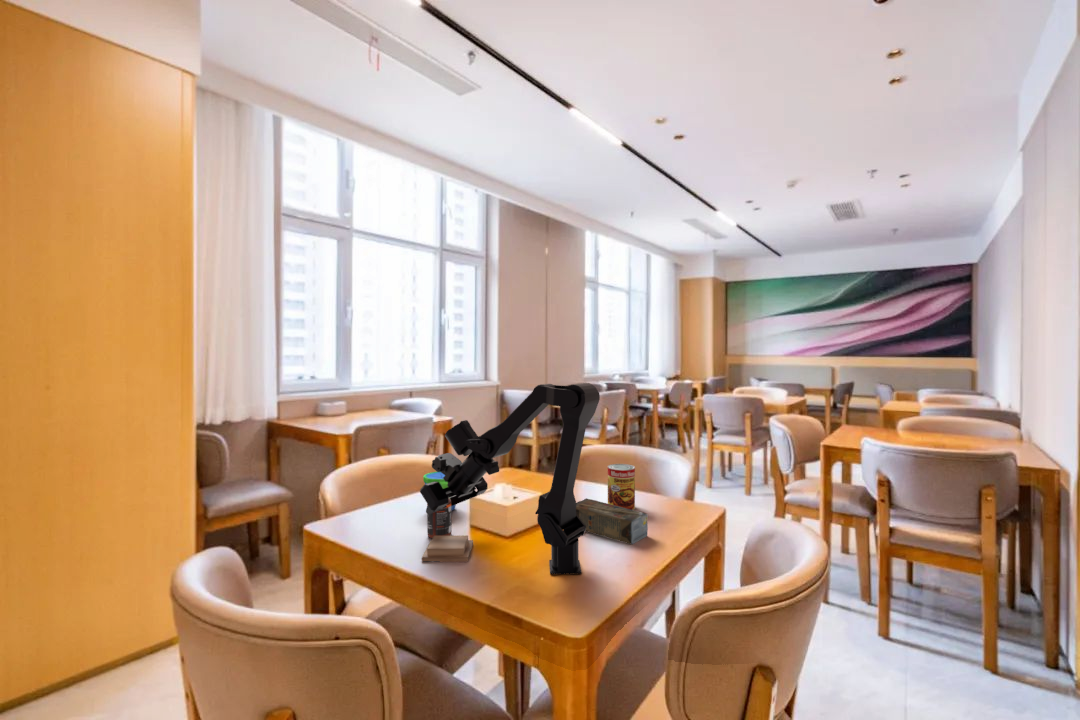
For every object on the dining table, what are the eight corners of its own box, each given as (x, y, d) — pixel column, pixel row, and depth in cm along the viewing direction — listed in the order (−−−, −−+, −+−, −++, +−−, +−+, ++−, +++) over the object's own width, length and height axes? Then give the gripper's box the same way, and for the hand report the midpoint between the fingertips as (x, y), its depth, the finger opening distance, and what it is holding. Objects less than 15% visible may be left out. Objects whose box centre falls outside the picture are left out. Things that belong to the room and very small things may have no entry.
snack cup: (423, 503, 157) (423, 469, 157) (458, 500, 159) (458, 467, 159) (423, 519, 142) (423, 482, 141) (462, 516, 144) (462, 480, 144)
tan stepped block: (467, 561, 113) (467, 550, 113) (421, 561, 113) (421, 550, 113) (473, 544, 123) (473, 533, 123) (430, 544, 123) (430, 534, 123)
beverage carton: (631, 546, 123) (631, 518, 123) (567, 528, 135) (567, 503, 135) (648, 537, 129) (648, 510, 129) (585, 520, 141) (585, 496, 141)
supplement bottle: (456, 535, 130) (456, 489, 129) (437, 541, 125) (437, 495, 125) (441, 529, 134) (441, 485, 133) (422, 536, 129) (422, 490, 129)
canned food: (613, 512, 147) (613, 470, 147) (603, 504, 155) (603, 464, 155) (639, 510, 149) (639, 468, 149) (628, 502, 157) (628, 463, 156)
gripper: (478, 438, 134) (447, 475, 140) (425, 450, 118) (392, 491, 125) (503, 472, 130) (469, 509, 136) (451, 489, 114) (416, 530, 120)
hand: (438, 508), depth 129 cm, fingers open, 7 cm apart
